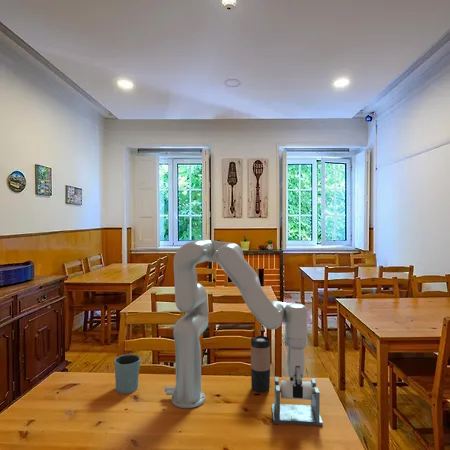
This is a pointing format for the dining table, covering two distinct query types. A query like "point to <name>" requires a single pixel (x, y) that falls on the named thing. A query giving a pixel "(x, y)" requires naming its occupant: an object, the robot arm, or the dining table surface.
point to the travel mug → (260, 364)
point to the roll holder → (297, 409)
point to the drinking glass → (127, 373)
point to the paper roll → (287, 390)
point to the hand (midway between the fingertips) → (296, 390)
